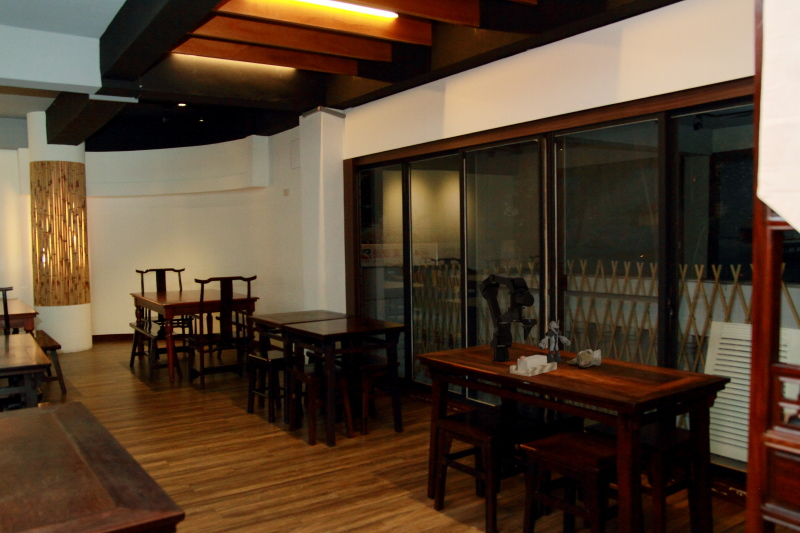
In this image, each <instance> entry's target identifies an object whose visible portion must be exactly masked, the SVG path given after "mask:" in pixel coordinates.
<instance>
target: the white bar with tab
mask: <svg viewBox="0 0 800 533" xmlns="http://www.w3.org/2000/svg"><path fill="white" fill-rule="evenodd" d="M547 356H548V355H541V354H534V355H530V356H526V355H521V356H520V358H517V364H518V371H522V372H526V369H528V368H532V367H536V366H540V365H544V364H548V363H547Z"/></svg>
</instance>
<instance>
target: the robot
mask: <svg viewBox="0 0 800 533" xmlns="http://www.w3.org/2000/svg"><path fill="white" fill-rule="evenodd" d="M559 325H560V318H558V320H557V321H556V320H554V319H552V320H551V321H550V323H549V324H548V329H549V330H546V332H545V333H544V335H545V338H542V339H541V340H540V342H539V344H538V346H537V348H538V350H541V351H543V350H544V349H545V348H546V347H547V345H548V343H549V345H550V346H549V347H548V353H547V355H546V356H547V364H548V363H552V362H557V363H563V358H562V357H561V353H560V346H559V345H558V344H559V340H560V342H561V344H563V345H564V346H566V347H570V346H571V344H572V343H571V341H570V340H569V339H568V338H567V337H566V336H563V335H562V334H563V332H562V330H560V329H559V328H560V326H559ZM558 339H559V340H558ZM548 340H549V342H548Z"/></svg>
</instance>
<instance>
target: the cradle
mask: <svg viewBox="0 0 800 533" xmlns="http://www.w3.org/2000/svg"><path fill="white" fill-rule="evenodd" d="M557 364H558V362H552V363H547V364H544V365H540V366H536V367H532V368H528V369H526V372H522V371H518V363H517V364H512V365H510V366H509V373H510V374H513V375H520V376H525V377H532V376H533V377H534V376H536V375H540V374H543V373H549V372H552V371H555V370H557V369H558V365H557Z"/></svg>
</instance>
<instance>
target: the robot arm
mask: <svg viewBox="0 0 800 533" xmlns="http://www.w3.org/2000/svg"><path fill="white" fill-rule="evenodd" d="M501 285H503V286H505V287H506V289H508V290H509V291H508V292H507V294H508V295H509V307H507V311H505V312H504V313H503V314H502V311H501V308H500V304H499V300H498V296H499V293H500V292H499V289H500V287H501ZM479 292H480V294H481V297H482V298H483V299H484V300H486V302H487V306H488V309H489V313H490V316H491V320H492V324H493V327H494V330H493V333H492V337H493V338H492V339H491V341H490V343H489V345H490V348H491V349H493V358H492V359H491V361H493V362H498V363H499V362H500V363H505V362H508V361H509V362H510V361H511V359H510V350H509V348H512V345H513V338H514V336H513V334H512V331H511V329H512V323H519V324H522V325H521V327H522V329H523V341H525V342H526V341H527V339H528V338H529V335H530V332H531V331H532V329H533V327H535V326H536V325H538V319H537V318H536V317H525V315H524V310H525V307H527V308H530V307H532V306H533V305H534V304H535V297H534V296H533V294H531V290H530V288H529V286H528V285H527V283H526V280H525V278H524V277H523V276H509V275H506V274H505V275H504V274H501V273H499V272H498V273H496V272H495V273H490V274H489V275H488V277H486V278H485V279H483V280H482V282H481V284H480V285H479Z"/></svg>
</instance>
